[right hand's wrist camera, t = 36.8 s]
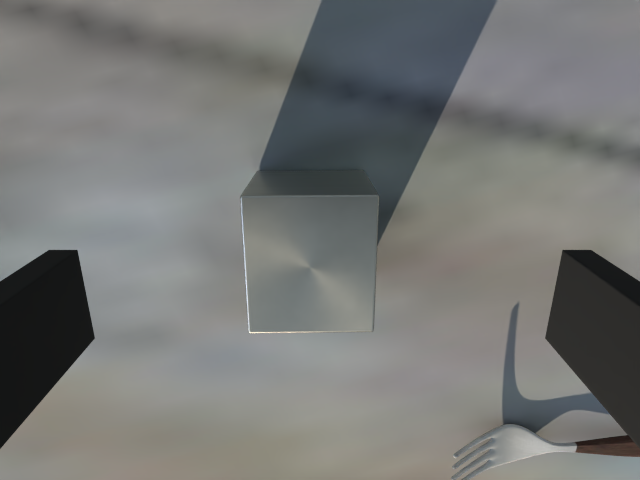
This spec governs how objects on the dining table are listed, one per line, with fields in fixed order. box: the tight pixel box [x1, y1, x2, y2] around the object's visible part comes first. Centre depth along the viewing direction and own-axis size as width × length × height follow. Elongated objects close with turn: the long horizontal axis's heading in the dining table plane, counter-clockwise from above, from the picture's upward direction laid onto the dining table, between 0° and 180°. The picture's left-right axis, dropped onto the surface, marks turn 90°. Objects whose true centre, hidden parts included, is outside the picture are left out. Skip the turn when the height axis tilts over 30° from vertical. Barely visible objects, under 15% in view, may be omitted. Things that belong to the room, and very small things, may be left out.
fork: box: [451, 424, 640, 480], centre depth 23 cm, size 3×16×2 cm, turn 91°
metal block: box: [240, 170, 379, 333], centre depth 18 cm, size 5×5×5 cm
